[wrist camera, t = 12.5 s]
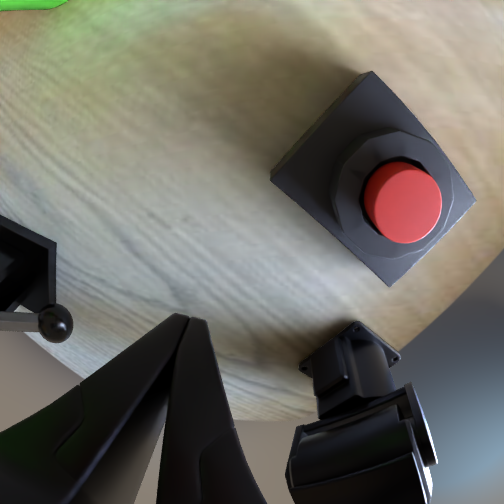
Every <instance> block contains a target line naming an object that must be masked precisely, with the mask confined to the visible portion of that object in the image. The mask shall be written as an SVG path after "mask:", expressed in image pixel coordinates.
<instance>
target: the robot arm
mask: <svg viewBox="0 0 504 504" xmlns="http://www.w3.org/2000/svg"><path fill="white" fill-rule="evenodd" d="M356 327H358V328H356ZM354 328H356V329H354ZM400 358H401V357H400V354H399V353H398V352H397V351H396V350H395V349H394V348H392V347H391V346H390V345H389V344H387V343H386V342H385V341H384V340H382V339H381V338H380V337H379V336H378V335H376V334H375V333H374V332H373V331H371V330H370V329H369V328H368V327H366V326H365V325H364V324H363V323H361V322H360V321H355V322H353V323H351V324H350V325H349V326H347V327H346V328H345V329H344V330H342V331H341V332H340V333H339V334H337V335H336V336H335V337H333V338H332V339H331V340H330V341H328V342H327V343H326V344H324V345H323V346H322V347H320V348H319V349H318V350H316V351H315V352H314V353H312V354H311V355H310V356H308V357H307V358H306V359H304V360H303V361H301V362H300V363H299V365H298V367H299V371H300V372H302V373H304V374H305V375H307V376H309V377H311V378H312V379H313V390H314V396H316V400H317V411H318V418H319V419H320V420H319V421H316V422H313V423H310V424H307V425H300V426H297V427H296V430H295V434H294V439H293V443H292V447H291V451H290V455H289V459H288V462H287V467H286V472H285V478H286V480H287V485H288V489H289V492H290V494H291V496H292V499H293V501H294V503H295V504H430V501H431V493H432V480H431V476H430V472H429V468H428V467H430V466H433V465H435V464H437V463H438V462H437V457H436V454H435V449H434V446H433V442H432V438H431V434H430V431H429V428H428V425H427V422H426V419H425V416H424V413H423V410H422V407H421V405H420V402H419V400H418V397H417V394H416V392H415V389H414V387H413V385H412V382H410V383H408V384H406V385H404V387H402V388H400V389H398V390H396V387H395V384H394V381H393V378H392V375H391V372H390V369H389V368H390V367H391V366H393V365H394V364H395V363H397V362H398V361H399V360H400ZM305 366H306V367H305ZM165 420H166V422H165ZM164 423H165V429H164V437H163V445H162V453H161V462H160V470H159V480H158V489H157V499H156V504H267V502H266V500H265V499H264V497H263V495H262V493H261V491H260V489H259V487H258V485H257V483H256V481H255V479H254V477H253V475H252V473H251V470H250V468H249V466H248V464H247V461H246V459H245V456H244V453H243V450H242V447H241V445H240V441H239V438H238V435H237V431H236V428H234V422H233V418H232V415H231V411H230V408H229V404H228V401H227V397H226V393H225V390H224V386H223V382H222V379H221V375H220V371H219V367H218V363H217V359H216V356H215V352H214V348H213V344H212V340H211V335H210V331H209V327H208V323H207V321H206V320H205V319H201V318H196V317H191V318H190V317H189V316H187V315H183V314H178V313H174V314H172V315H171V316H169V317H168V318H167V319H165V320H164V321H163V322H161V323H160V324H159V325H157V326H156V327H155V328H153V329H152V330H151V331H149V332H148V333H147V334H145V335H144V336H143V337H141V338H140V339H139V340H137V341H136V342H134V343H133V344H132V345H130V346H129V347H128V348H126V349H125V350H124V351H122V352H121V353H120V354H118V355H117V356H116V357H114V358H113V359H112V360H110V361H109V362H108V363H106V364H105V365H104V366H102V367H101V368H100V369H98V370H97V371H96V372H94V373H93V374H92V375H90V376H89V377H87V378H86V379H85V380H84V381H82V382H81V383H80V386H79V385H76V386H75V387H74V388H72V389H71V390H70V391H68V392H67V393H66V394H64V395H63V396H61V397H60V398H58V399H57V400H56V401H54V402H53V403H51V404H50V405H48V406H47V407H45V408H43V409H41V410H40V411H38V412H37V413H35V414H33V415H31V416H30V417H28V418H26V419H24V420H22V421H21V422H19V423H17V424H15V425H13V426H11V427H10V428H8V429H6V430H4V431H2V432H0V504H134V502H135V499H136V496H137V494H138V491H139V488H140V485H141V483H142V480H143V478H144V475H145V472H146V469H147V467H148V464H149V462H150V459H151V456H152V454H153V451H154V449H155V446H156V443H157V441H158V438H159V435H160V433H161V430H162V428H163V425H164Z"/></svg>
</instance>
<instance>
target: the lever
mask: <svg viewBox="0 0 504 504" xmlns="http://www.w3.org/2000/svg"><path fill="white" fill-rule="evenodd" d="M0 330H2V331H22V332H40V334H41V335H42V336H43V338H44V339H46V340H47V341H49V342H52V343H61V342H64V341H65V340H67V339H68V338H69V337H70V335H71V333H72V331H73V319H72V316H71V314H70V312H69V311H68V310H67V309H66V308H65V307H64V306H62V305H60V304H57V303H51V304H47V305H45V306H44V307H43V308H42V309H41V310H40V312H39V313H22V312H3V311H0Z"/></svg>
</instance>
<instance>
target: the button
mask: <svg viewBox="0 0 504 504" xmlns="http://www.w3.org/2000/svg"><path fill="white" fill-rule="evenodd" d="M364 205H365V209H366V212H367V214H368V216H369V217H370V219H371V220H372V222H373V223H374V224H375V226H376V227H377V228H378V230H379V231H380V232H381V233H382V234H383V235H384V236H385V237H386V238H388V239H389V240H391V241H394V242H397V243H411V242H415V241H418V240H420V239H422V238H423V237H425V236H426V235H427V234H428V233H429V232H430V231H431V230H432V229H433V228H434V226H435V225H436V223H437V221H438V219H439V217H440V213H441V208H442V197H441V192H440V189H439V187H438V185H437V183H436V182H435V180H434V179H433V178H432V177H431V176H430V175H429V174H427V173H426V172H424V171H422V170H420V169H419V168H417V167H415V166H413V165H411V164H409V163H405V162H391V163H387V164H385V165H383V166H381V167H380V168H378V169H377V170H376V171H375V172H374V173H373V174H372V176H371V177H370V179H369V180H368V182H367V185H366V188H365V192H364Z"/></svg>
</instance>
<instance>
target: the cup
mask: <svg viewBox="0 0 504 504" xmlns="http://www.w3.org/2000/svg"><path fill="white" fill-rule="evenodd" d="M67 1H68V0H0V11H12V10H46V9H52V8H54V7H57V6H60V5H62V4H63V3H65V2H67Z"/></svg>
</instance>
